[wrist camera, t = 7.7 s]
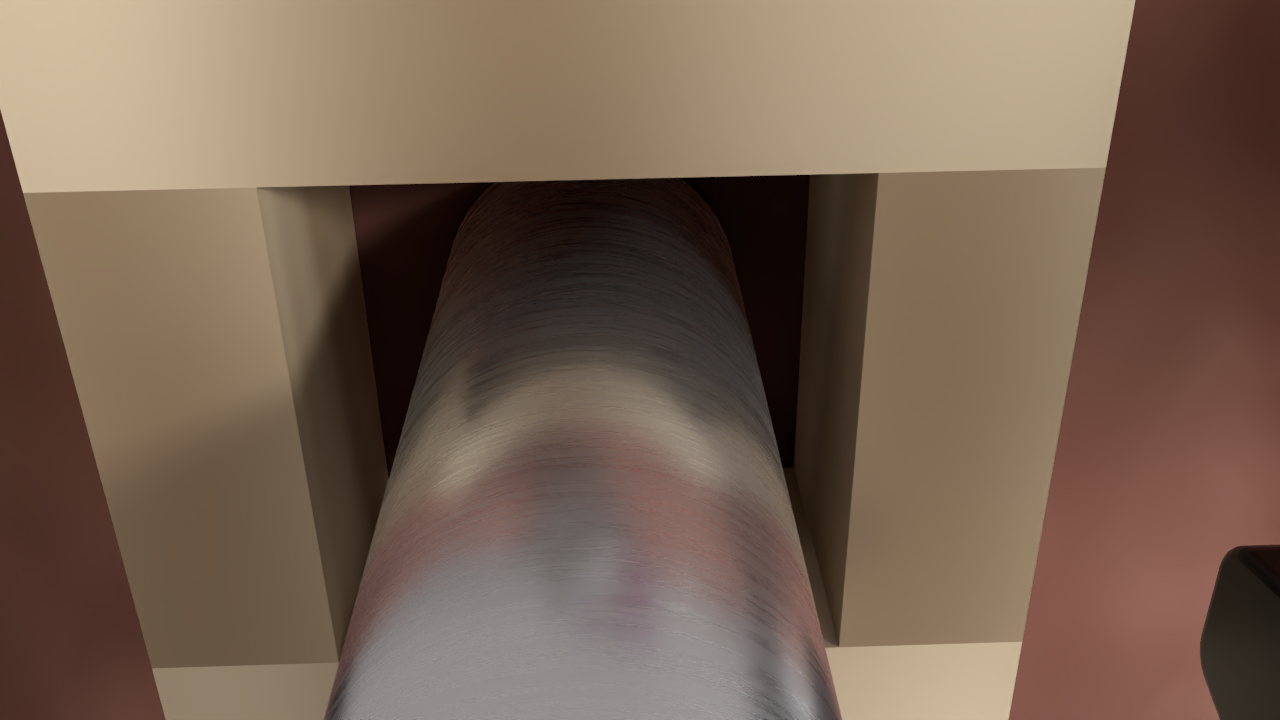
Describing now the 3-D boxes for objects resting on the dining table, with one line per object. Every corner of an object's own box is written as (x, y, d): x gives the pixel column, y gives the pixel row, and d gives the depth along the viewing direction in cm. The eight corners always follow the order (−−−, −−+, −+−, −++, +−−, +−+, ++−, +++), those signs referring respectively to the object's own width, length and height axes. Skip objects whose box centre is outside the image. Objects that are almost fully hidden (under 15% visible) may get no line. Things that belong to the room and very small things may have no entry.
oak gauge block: (1015, -126, 11) (1148, -71, 8) (927, 580, 15) (998, 774, 12) (114, -110, 11) (-43, -49, 8) (261, 600, 15) (186, 799, 12)
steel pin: (732, 406, 13) (917, 1405, 6) (460, 413, 13) (261, 1432, 6) (738, 144, 12) (997, 993, 4) (433, 152, 12) (116, 1026, 4)
